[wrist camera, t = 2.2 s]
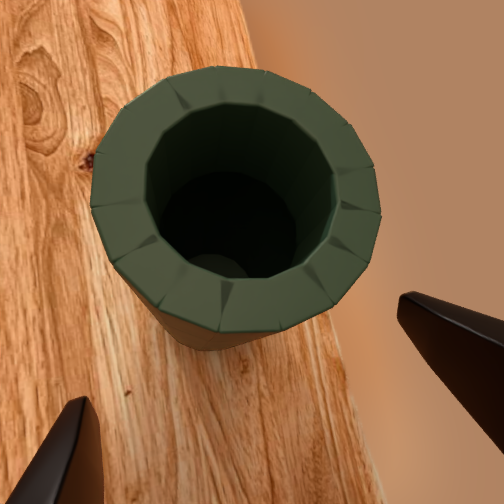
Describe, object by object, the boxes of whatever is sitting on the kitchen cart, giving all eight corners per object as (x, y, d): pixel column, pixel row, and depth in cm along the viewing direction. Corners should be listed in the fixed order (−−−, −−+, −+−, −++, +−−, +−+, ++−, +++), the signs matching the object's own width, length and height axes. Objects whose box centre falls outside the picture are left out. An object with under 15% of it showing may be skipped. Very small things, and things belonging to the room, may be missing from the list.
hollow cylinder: (262, 348, 20) (401, 328, 7) (155, 353, 19) (76, 338, 6) (257, 249, 22) (362, 77, 8) (159, 248, 21) (102, 53, 8)
